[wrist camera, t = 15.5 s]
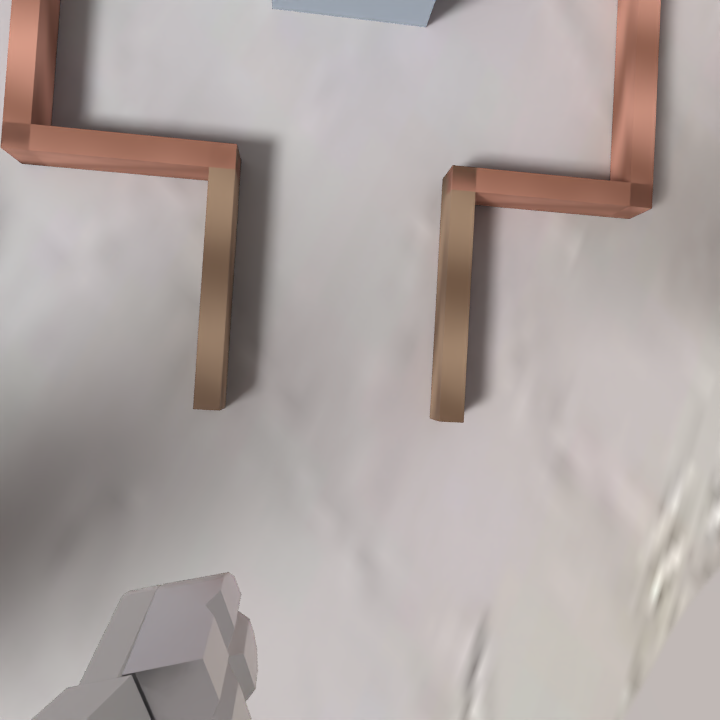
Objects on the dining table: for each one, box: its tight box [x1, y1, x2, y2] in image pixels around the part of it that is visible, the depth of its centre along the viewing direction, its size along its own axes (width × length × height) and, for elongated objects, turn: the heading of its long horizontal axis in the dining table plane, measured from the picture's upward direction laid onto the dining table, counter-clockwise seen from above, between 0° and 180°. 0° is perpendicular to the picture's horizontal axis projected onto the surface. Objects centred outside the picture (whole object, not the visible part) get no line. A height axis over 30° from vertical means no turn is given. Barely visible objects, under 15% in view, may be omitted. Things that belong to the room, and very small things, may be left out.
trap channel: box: [1, 0, 661, 423], centre depth 29 cm, size 32×31×2 cm
